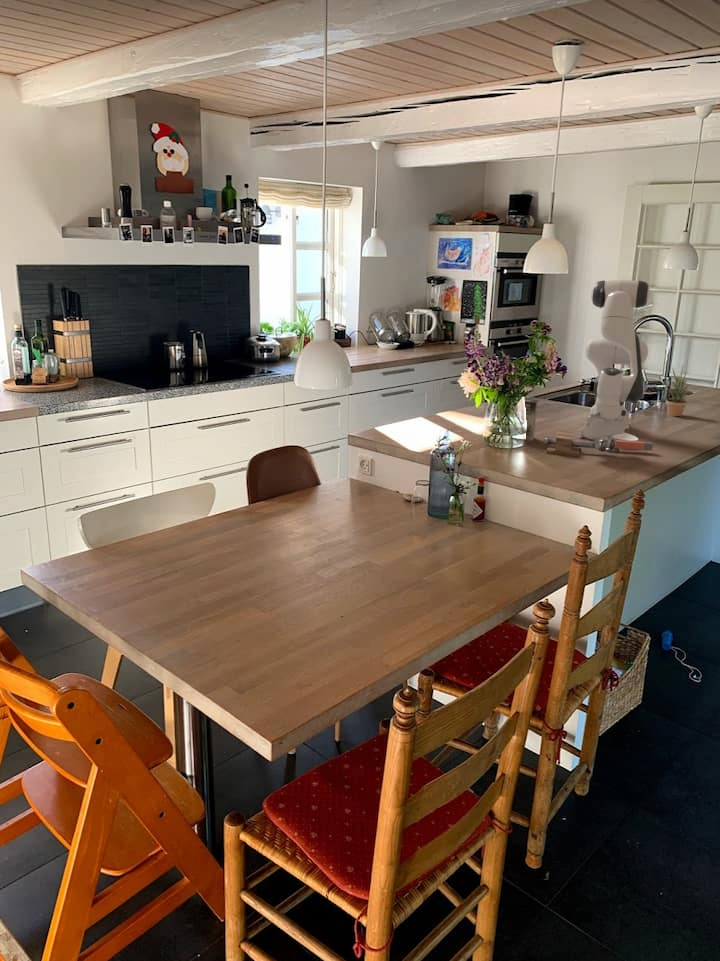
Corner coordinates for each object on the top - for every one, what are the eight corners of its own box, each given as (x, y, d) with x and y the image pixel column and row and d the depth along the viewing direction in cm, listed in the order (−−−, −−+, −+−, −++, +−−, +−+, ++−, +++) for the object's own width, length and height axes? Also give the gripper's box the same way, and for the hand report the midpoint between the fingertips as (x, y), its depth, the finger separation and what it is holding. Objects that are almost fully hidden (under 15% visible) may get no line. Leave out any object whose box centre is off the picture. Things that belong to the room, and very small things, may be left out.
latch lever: (615, 448, 295) (616, 441, 295) (615, 447, 297) (615, 440, 296) (651, 450, 293) (652, 443, 292) (650, 449, 295) (651, 442, 294)
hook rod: (543, 443, 298) (544, 434, 297) (606, 449, 291) (607, 439, 290) (542, 445, 295) (543, 435, 294) (606, 451, 289) (607, 441, 288)
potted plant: (660, 414, 364) (667, 363, 357) (669, 412, 370) (677, 362, 363) (680, 418, 357) (688, 366, 350) (689, 416, 363) (697, 364, 356)
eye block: (548, 444, 303) (550, 429, 301) (579, 447, 300) (581, 432, 298) (546, 453, 290) (548, 437, 288) (578, 456, 287) (580, 440, 285)
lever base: (603, 447, 300) (604, 436, 299) (618, 449, 299) (620, 438, 298) (603, 451, 295) (604, 440, 294) (619, 452, 293) (620, 441, 292)
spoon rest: (641, 445, 307) (643, 428, 305) (631, 450, 298) (634, 433, 296) (585, 435, 321) (587, 418, 319) (574, 440, 312) (576, 423, 310)
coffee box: (509, 438, 311) (513, 400, 306) (512, 435, 316) (515, 397, 312) (532, 441, 308) (536, 402, 303) (534, 437, 314) (538, 399, 309)
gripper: (594, 416, 278) (590, 452, 282) (630, 410, 289) (625, 446, 293) (581, 412, 283) (577, 448, 287) (617, 407, 294) (612, 442, 298)
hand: (602, 447), depth 290 cm, fingers closed on hook rod, 4 cm apart
